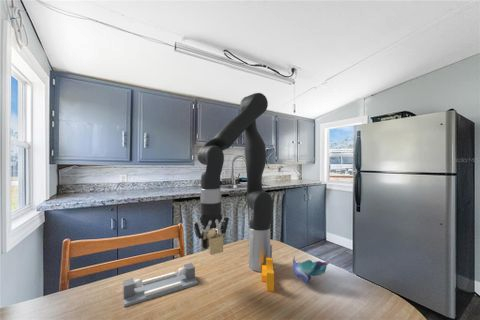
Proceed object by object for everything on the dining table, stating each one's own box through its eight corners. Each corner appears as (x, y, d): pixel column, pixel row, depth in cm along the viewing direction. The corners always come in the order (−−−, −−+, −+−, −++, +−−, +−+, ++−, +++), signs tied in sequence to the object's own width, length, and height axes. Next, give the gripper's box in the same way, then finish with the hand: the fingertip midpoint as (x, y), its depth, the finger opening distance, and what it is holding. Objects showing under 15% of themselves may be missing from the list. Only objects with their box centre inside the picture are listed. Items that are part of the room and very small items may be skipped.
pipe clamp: (261, 272, 86) (262, 257, 86) (272, 273, 86) (272, 257, 86) (261, 290, 74) (261, 272, 74) (273, 291, 74) (274, 273, 74)
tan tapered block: (200, 244, 79) (200, 230, 79) (211, 242, 82) (211, 228, 82) (211, 255, 71) (211, 238, 71) (223, 251, 73) (223, 235, 73)
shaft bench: (189, 271, 86) (189, 259, 86) (197, 284, 78) (197, 270, 78) (122, 290, 74) (123, 276, 74) (124, 307, 65) (124, 291, 65)
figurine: (332, 284, 78) (332, 260, 78) (315, 297, 71) (315, 271, 71) (302, 270, 88) (302, 249, 88) (284, 280, 81) (284, 257, 81)
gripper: (223, 196, 83) (224, 239, 83) (188, 201, 76) (189, 247, 76) (232, 200, 77) (233, 246, 77) (195, 204, 69) (196, 256, 69)
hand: (211, 246), depth 76 cm, fingers closed on tan tapered block, 4 cm apart
